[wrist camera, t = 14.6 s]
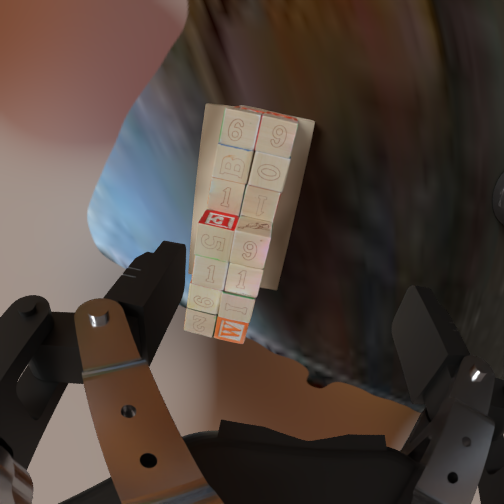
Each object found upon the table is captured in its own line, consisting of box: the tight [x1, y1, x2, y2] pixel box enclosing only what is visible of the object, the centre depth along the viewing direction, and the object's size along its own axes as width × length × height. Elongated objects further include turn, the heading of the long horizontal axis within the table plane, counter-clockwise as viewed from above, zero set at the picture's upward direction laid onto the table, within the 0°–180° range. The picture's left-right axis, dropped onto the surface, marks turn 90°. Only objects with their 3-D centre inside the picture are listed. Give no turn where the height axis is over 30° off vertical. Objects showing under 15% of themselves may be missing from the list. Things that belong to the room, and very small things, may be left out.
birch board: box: [189, 103, 315, 290], centre depth 38 cm, size 12×22×2 cm, turn 171°
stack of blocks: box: [184, 105, 298, 344], centre depth 31 cm, size 21×6×12 cm, turn 168°
